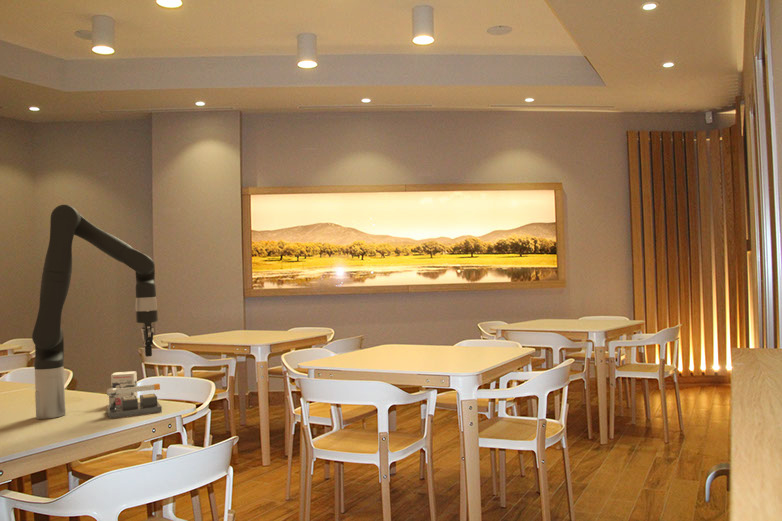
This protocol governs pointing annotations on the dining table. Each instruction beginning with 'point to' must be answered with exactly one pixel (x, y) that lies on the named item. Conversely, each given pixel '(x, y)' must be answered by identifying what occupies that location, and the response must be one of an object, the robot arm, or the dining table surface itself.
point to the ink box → (124, 384)
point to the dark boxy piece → (133, 406)
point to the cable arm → (132, 389)
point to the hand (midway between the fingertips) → (148, 356)
